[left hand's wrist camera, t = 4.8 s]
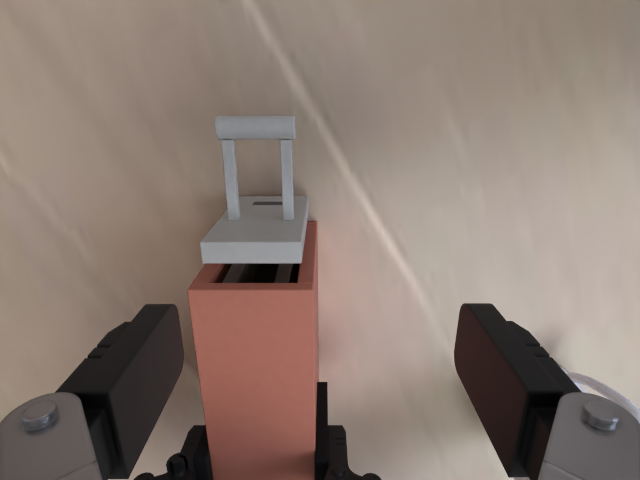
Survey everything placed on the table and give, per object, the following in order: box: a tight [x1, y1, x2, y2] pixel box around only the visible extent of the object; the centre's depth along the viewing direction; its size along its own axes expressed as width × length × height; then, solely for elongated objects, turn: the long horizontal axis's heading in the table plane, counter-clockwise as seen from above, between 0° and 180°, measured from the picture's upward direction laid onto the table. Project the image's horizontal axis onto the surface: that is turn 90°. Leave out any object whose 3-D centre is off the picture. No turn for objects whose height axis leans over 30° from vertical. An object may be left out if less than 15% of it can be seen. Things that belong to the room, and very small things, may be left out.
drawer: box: [200, 116, 309, 283], centre depth 26 cm, size 22×5×10 cm, turn 0°
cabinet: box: [187, 221, 319, 480], centre depth 28 cm, size 17×6×11 cm, turn 0°
